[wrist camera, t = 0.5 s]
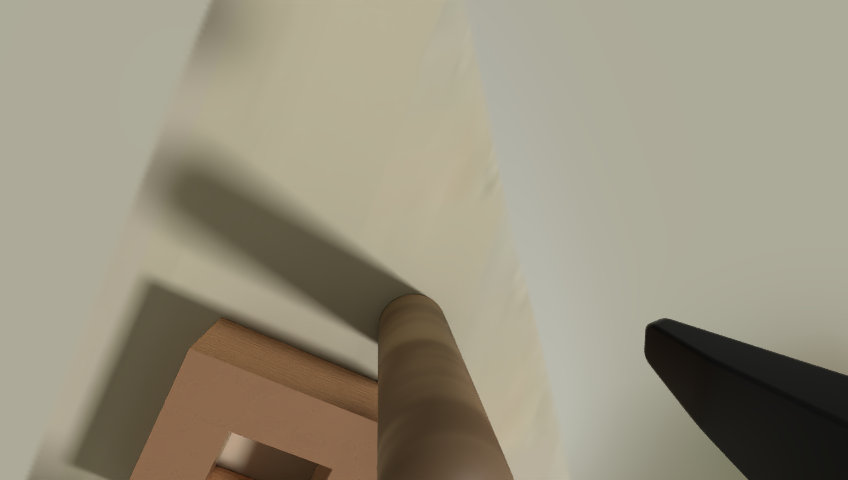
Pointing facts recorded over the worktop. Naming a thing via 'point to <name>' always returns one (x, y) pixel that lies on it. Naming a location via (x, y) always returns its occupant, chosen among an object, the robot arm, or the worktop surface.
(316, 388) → the hollow square frame
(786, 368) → the robot arm
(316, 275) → the worktop surface
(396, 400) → the pin
